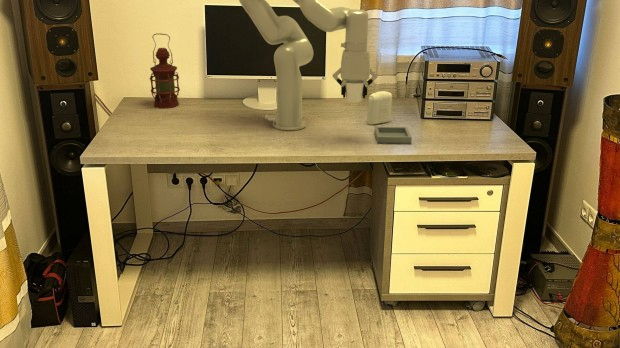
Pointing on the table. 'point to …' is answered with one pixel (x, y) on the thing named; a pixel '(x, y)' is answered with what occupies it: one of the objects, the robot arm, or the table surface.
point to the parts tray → (392, 135)
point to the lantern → (164, 79)
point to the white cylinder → (354, 90)
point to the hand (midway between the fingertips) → (353, 96)
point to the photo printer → (379, 107)
